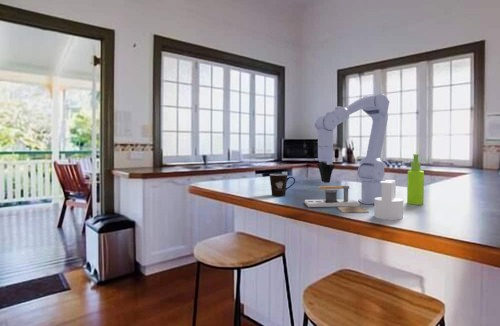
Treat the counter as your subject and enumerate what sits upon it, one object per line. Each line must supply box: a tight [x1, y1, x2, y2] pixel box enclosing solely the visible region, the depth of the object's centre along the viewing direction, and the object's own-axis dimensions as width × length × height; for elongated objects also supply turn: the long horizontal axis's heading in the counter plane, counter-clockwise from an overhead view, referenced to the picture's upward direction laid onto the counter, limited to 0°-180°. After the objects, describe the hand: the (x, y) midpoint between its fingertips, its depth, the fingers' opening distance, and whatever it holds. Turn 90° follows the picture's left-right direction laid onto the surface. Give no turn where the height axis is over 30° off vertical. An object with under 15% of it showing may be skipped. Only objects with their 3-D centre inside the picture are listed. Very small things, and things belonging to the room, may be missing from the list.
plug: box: [324, 189, 338, 203], centre depth 136 cm, size 5×5×6 cm
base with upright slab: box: [373, 179, 404, 221], centre depth 113 cm, size 9×9×12 cm
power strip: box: [304, 189, 360, 208], centre depth 136 cm, size 20×9×6 cm, turn 89°
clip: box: [317, 185, 350, 190], centre depth 136 cm, size 12×3×1 cm, turn 89°
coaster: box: [336, 206, 369, 214], centre depth 124 cm, size 9×9×1 cm
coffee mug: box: [269, 173, 296, 197], centre depth 160 cm, size 12×9×10 cm
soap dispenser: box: [406, 153, 425, 206], centre depth 135 cm, size 6×7×20 cm
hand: (325, 182), depth 130 cm, fingers open, 3 cm apart
